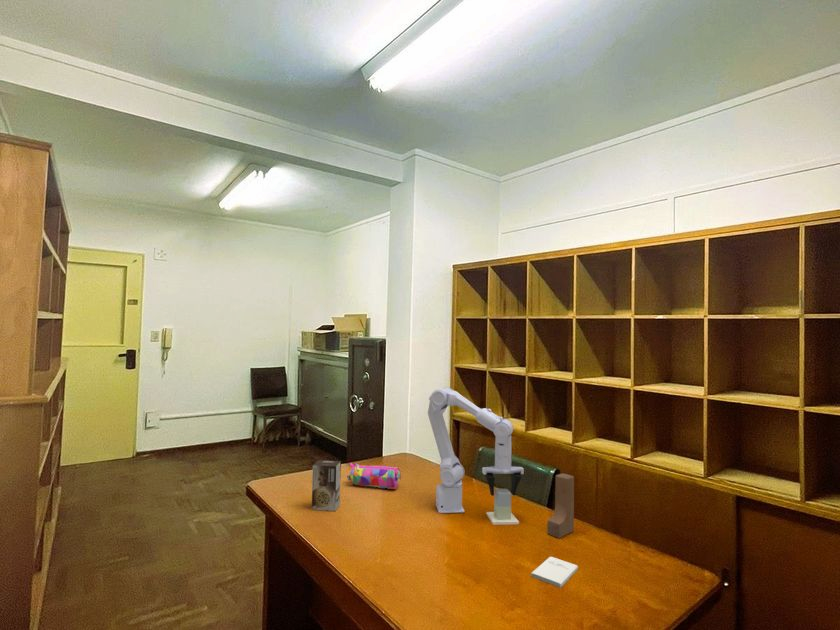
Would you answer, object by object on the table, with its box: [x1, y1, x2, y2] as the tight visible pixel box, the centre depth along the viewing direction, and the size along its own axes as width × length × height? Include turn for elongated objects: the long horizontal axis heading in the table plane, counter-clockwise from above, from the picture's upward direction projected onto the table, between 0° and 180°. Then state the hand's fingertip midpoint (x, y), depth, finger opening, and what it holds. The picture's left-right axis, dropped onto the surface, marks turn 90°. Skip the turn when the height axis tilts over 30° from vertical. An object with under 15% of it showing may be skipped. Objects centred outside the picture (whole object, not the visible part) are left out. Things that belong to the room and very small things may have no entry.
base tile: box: [485, 511, 520, 526], centre depth 157 cm, size 9×9×2 cm
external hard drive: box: [530, 556, 579, 589], centre depth 121 cm, size 2×8×12 cm
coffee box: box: [311, 459, 342, 512], centre depth 164 cm, size 9×6×16 cm
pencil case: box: [346, 462, 402, 490], centre depth 188 cm, size 22×9×9 cm, turn 77°
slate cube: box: [493, 488, 512, 507], centre depth 157 cm, size 4×4×4 cm
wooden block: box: [546, 473, 575, 539], centre depth 147 cm, size 9×4×18 cm, turn 131°
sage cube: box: [493, 501, 512, 520], centre depth 157 cm, size 4×4×4 cm
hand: (502, 494), depth 157 cm, fingers open, 7 cm apart
